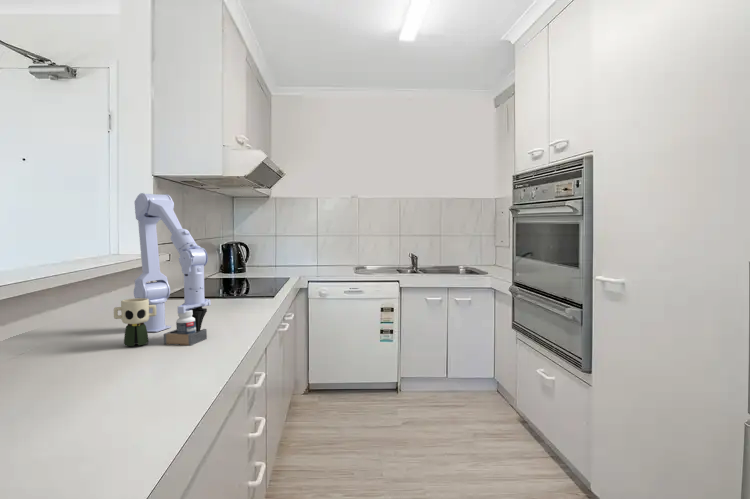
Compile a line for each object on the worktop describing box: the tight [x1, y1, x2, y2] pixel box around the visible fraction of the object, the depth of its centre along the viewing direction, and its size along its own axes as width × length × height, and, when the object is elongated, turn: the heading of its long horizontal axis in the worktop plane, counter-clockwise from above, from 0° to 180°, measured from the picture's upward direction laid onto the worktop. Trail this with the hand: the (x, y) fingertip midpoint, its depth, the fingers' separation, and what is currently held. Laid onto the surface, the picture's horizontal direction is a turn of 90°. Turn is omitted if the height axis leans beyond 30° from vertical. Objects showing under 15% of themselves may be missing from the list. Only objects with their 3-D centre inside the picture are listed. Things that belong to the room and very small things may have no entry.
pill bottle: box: [175, 310, 196, 334], centre depth 146 cm, size 5×5×9 cm
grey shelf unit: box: [163, 328, 208, 346], centre depth 146 cm, size 9×8×3 cm
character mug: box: [113, 297, 157, 347], centre depth 141 cm, size 11×7×13 cm, turn 114°
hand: (195, 332), depth 151 cm, fingers closed
